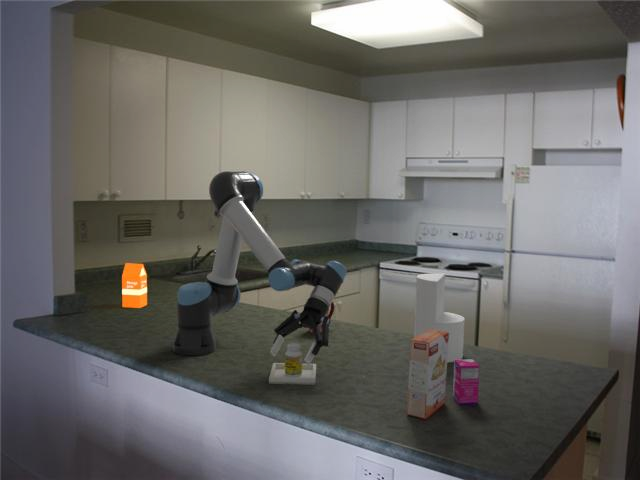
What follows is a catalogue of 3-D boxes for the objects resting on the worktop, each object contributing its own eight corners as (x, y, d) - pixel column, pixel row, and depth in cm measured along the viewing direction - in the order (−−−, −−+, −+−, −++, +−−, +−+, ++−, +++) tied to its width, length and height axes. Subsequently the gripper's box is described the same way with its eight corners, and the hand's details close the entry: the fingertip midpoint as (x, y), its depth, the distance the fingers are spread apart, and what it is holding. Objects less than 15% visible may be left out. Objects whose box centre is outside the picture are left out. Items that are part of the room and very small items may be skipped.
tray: (268, 383, 183) (269, 377, 183) (273, 368, 197) (273, 362, 197) (315, 384, 183) (315, 378, 183) (316, 369, 197) (316, 363, 197)
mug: (316, 335, 238) (317, 302, 237) (302, 330, 245) (302, 298, 244) (340, 331, 246) (341, 298, 245) (326, 326, 253) (327, 294, 252)
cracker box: (427, 420, 158) (430, 342, 156) (406, 415, 162) (408, 338, 159) (446, 404, 170) (449, 331, 168) (426, 399, 173) (429, 327, 171)
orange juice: (129, 303, 288) (129, 261, 286) (147, 304, 287) (146, 262, 285) (122, 307, 281) (121, 264, 278) (140, 308, 279) (139, 265, 277)
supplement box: (451, 397, 175) (453, 359, 174) (471, 397, 176) (473, 358, 174) (458, 405, 169) (460, 365, 168) (478, 404, 170) (480, 365, 169)
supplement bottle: (304, 373, 192) (305, 343, 191) (297, 378, 187) (298, 348, 186) (288, 370, 194) (289, 341, 193) (281, 375, 189) (282, 345, 188)
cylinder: (408, 358, 211) (412, 279, 208) (418, 345, 227) (421, 272, 224) (459, 365, 205) (463, 283, 202) (465, 351, 221) (469, 275, 218)
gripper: (355, 315, 193) (326, 372, 183) (293, 304, 208) (264, 356, 197) (346, 301, 188) (316, 360, 178) (284, 291, 203) (253, 344, 193)
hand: (289, 358), depth 188 cm, fingers open, 13 cm apart
